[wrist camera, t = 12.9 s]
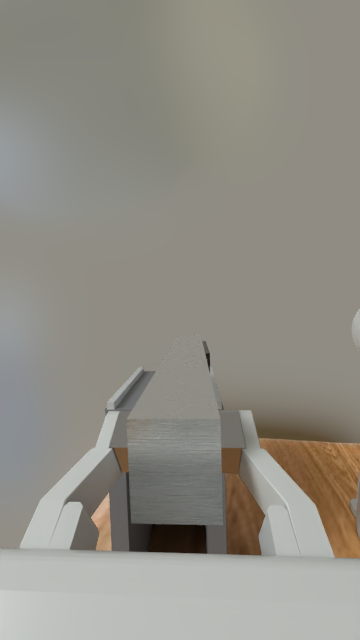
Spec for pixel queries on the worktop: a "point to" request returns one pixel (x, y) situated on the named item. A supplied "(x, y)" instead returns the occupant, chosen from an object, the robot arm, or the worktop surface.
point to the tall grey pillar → (122, 529)
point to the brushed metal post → (177, 442)
